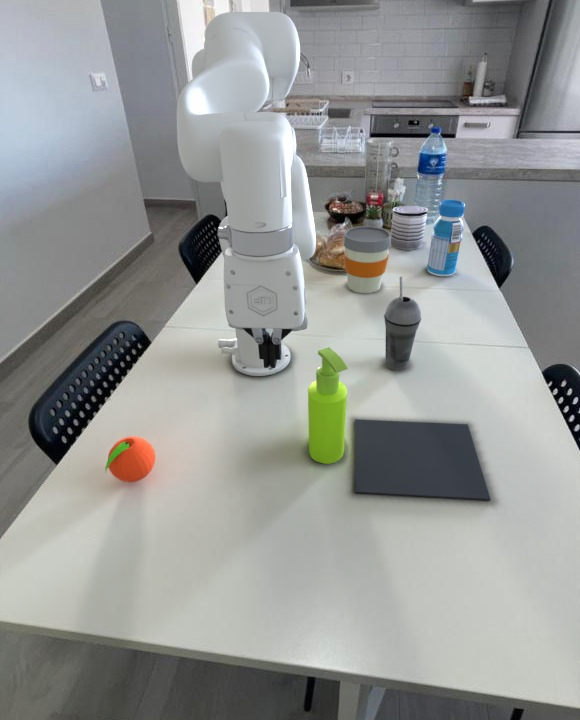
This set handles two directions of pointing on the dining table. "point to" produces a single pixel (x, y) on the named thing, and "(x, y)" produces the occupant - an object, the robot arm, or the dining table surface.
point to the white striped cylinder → (408, 227)
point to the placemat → (417, 460)
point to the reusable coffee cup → (366, 257)
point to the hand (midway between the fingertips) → (271, 362)
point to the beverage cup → (400, 330)
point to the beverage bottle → (446, 238)
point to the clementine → (131, 459)
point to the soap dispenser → (327, 410)
